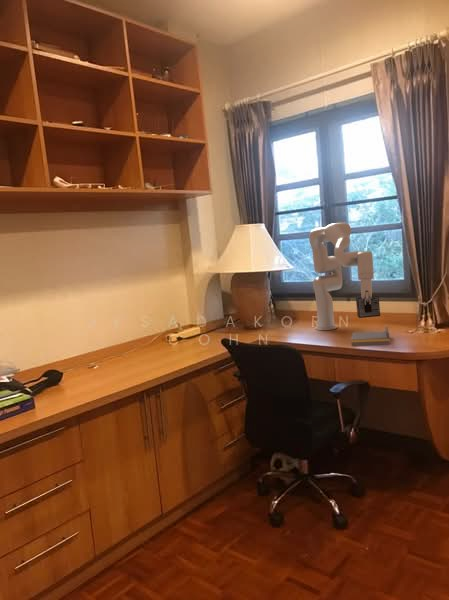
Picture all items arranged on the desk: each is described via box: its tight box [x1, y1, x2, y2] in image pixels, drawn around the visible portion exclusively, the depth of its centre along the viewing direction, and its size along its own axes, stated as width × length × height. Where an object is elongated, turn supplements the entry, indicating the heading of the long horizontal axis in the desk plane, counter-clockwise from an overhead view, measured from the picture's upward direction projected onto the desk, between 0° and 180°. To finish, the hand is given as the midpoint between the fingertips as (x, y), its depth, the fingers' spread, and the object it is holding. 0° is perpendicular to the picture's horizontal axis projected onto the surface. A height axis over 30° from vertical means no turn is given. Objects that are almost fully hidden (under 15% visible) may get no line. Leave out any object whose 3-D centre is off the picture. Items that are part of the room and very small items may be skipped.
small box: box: [355, 294, 381, 319], centre depth 244 cm, size 11×6×10 cm, turn 84°
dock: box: [350, 326, 391, 346], centre depth 245 cm, size 16×18×5 cm
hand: (368, 310), depth 244 cm, fingers closed on small box, 7 cm apart
